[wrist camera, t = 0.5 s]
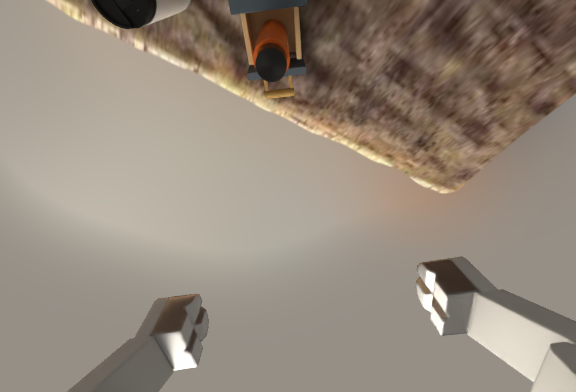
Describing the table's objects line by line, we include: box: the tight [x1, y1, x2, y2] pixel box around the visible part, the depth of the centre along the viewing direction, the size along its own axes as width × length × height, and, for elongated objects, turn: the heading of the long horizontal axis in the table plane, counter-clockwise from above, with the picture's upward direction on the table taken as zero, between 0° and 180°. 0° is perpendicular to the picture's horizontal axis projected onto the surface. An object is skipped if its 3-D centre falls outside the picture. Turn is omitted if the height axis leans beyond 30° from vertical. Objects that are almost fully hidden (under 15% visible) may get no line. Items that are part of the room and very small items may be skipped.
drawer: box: [240, 7, 306, 99], centre depth 45 cm, size 16×10×7 cm, turn 6°
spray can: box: [253, 19, 290, 82], centre depth 38 cm, size 5×5×20 cm
